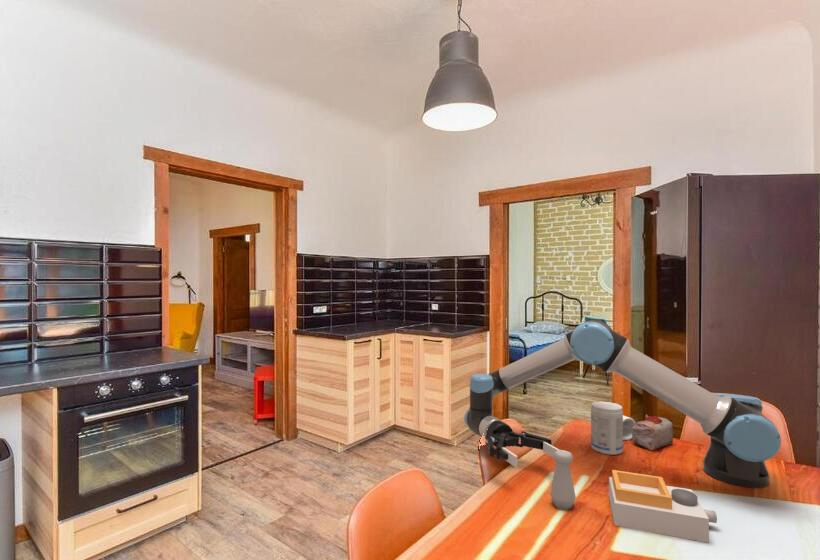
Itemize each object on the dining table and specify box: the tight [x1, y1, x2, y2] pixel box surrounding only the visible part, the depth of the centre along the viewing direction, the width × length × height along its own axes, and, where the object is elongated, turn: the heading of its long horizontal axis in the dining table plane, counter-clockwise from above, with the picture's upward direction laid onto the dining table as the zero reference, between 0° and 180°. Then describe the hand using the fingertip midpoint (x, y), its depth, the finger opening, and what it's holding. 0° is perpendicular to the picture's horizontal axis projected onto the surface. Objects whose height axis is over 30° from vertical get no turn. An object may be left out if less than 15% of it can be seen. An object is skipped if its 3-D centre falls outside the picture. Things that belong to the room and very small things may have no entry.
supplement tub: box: [590, 401, 624, 456], centre depth 141 cm, size 10×10×15 cm
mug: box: [623, 414, 637, 441], centre depth 155 cm, size 12×10×8 cm
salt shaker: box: [549, 449, 577, 511], centre depth 106 cm, size 6×6×13 cm
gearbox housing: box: [608, 469, 718, 544], centre depth 100 cm, size 21×14×8 cm, turn 70°
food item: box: [631, 414, 674, 451], centre depth 147 cm, size 14×8×10 cm, turn 122°
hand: (538, 458), depth 115 cm, fingers open, 13 cm apart
